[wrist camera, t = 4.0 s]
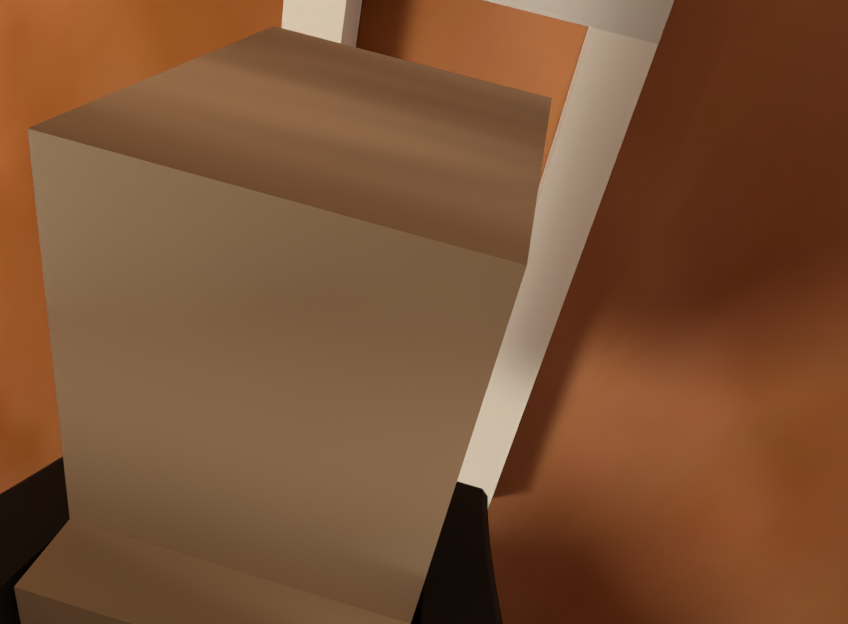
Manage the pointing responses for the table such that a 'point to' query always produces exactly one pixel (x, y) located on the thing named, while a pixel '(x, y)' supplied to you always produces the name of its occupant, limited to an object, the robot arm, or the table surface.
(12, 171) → the table surface
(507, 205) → the tan stepped block
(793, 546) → the table surface
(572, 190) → the jig
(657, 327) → the table surface
